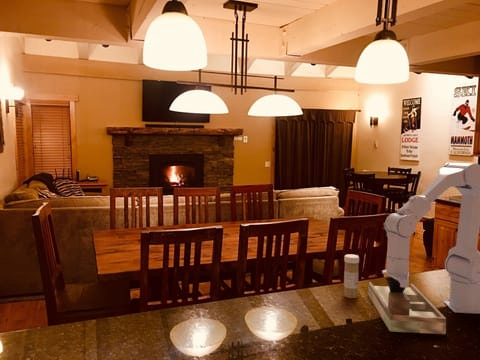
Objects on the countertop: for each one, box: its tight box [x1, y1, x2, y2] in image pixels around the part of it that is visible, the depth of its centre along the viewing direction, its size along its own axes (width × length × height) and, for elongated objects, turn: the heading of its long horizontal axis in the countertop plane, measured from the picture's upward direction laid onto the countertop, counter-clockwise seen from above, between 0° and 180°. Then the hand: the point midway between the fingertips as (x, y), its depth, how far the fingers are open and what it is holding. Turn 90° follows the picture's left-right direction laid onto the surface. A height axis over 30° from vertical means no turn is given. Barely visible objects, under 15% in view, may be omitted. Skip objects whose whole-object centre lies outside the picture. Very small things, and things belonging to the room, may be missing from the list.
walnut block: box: [388, 292, 410, 316], centre depth 108 cm, size 4×4×4 cm
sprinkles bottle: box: [343, 253, 360, 299], centre depth 127 cm, size 5×5×13 cm
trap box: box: [367, 281, 447, 335], centre depth 116 cm, size 14×26×4 cm, turn 174°
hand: (395, 303), depth 111 cm, fingers closed, pressing on walnut block
